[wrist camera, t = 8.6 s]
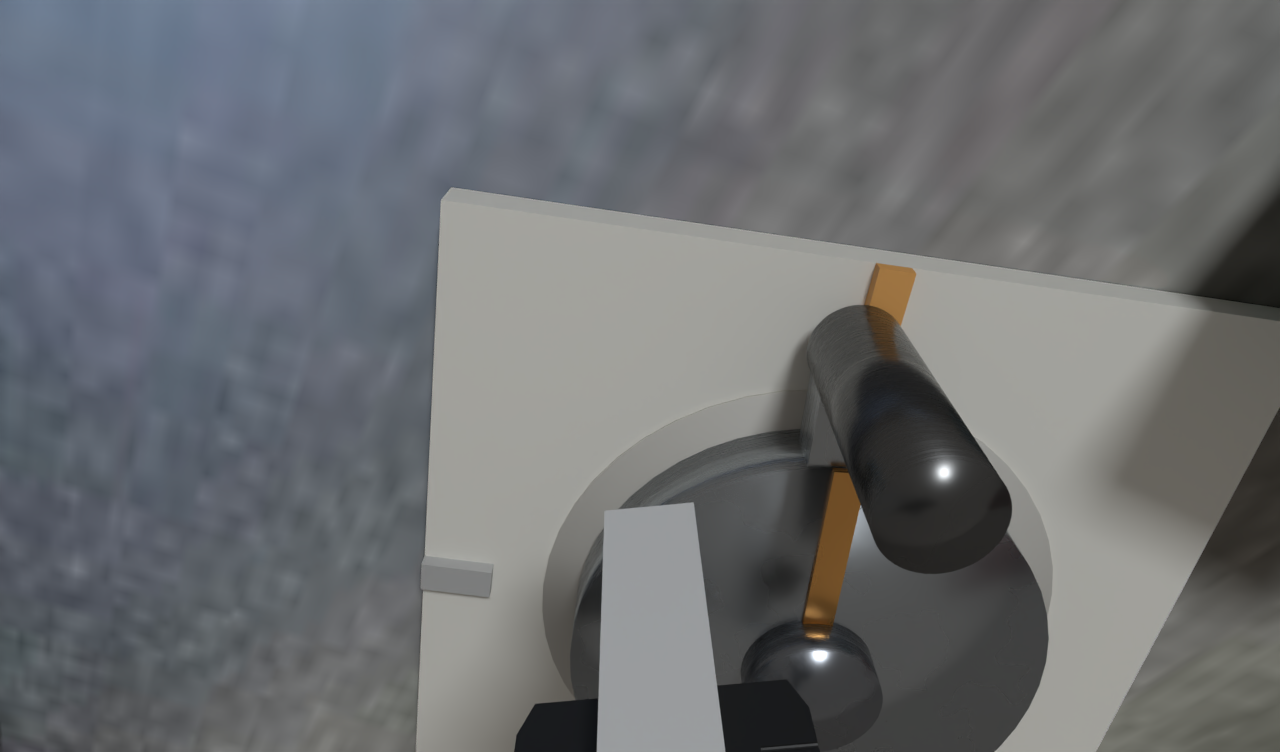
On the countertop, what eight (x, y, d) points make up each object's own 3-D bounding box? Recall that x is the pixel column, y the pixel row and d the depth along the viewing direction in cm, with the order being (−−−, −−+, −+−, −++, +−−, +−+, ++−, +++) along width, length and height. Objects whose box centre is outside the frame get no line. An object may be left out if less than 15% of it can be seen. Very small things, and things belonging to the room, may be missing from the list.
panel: (420, 788, 31) (410, 829, 30) (451, 187, 22) (437, 204, 20) (1012, 852, 33) (1029, 894, 31) (1290, 309, 23) (1333, 333, 21)
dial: (960, 785, 29) (1054, 1040, 22) (566, 760, 28) (540, 1011, 22) (1122, 317, 21) (1338, 487, 15) (594, 276, 21) (568, 431, 14)
